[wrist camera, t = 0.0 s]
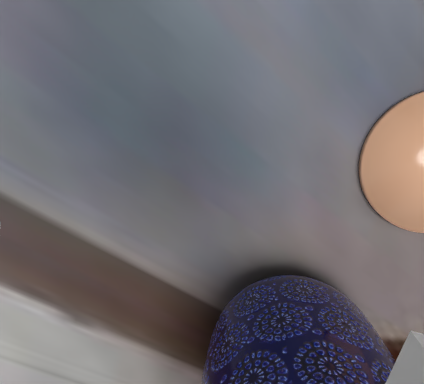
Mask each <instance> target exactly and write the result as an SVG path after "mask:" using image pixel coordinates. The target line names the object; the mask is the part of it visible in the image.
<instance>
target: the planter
mask: <svg viewBox="0 0 424 384" xmlns="http://www.w3.org/2000/svg"><path fill="white" fill-rule="evenodd" d="M394 364H395V360H394V358H393V357H392V355H391V353H390V352H389V350H388V348H387V347H386V345H385V344H384V342H383V341H382V339H381V338H380V336H379V335H378V333H377V332H376V331H375V329H374V328H373V326H372V325H371V324H370V322H369V321H368V320H367V318H366V317H365V315H364V314H363V313H362V312H361V310H360V309H359V308H358V307H357V306H356V305H355V304H354V303H353V302H352V301H351V300H350V299H349V298H348V297H346V296H345V295H344V294H343V293H341V292H340V291H339V290H337V289H335V288H334V287H332V286H330V285H328V284H326V283H323V282H321V281H319V280H316V279H313V278H309V277H305V276H298V275H279V276H273V277H268V278H265V279H262V280H259V281H257V282H255V283H253V284H251V285H249V286H247V287H246V288H244V289H243V290H242V291H240V292H239V293H238V294H237V295H236V296H235V297H234V298H233V299H232V300H231V301H230V302H229V303H228V304H227V305H226V307H225V308H224V309H223V311H222V313H221V315H220V317H219V319H218V321H217V323H216V325H215V328H214V330H213V334H212V337H211V341H210V345H209V348H208V353H207V357H206V361H205V366H204V371H203V377H202V382H201V384H385V383H386V381H387V379H388V377H389V375H390V373H391V371H392V369H393V366H394Z"/></svg>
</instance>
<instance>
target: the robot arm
mask: <svg viewBox="0 0 424 384" xmlns="http://www.w3.org/2000/svg"><path fill="white" fill-rule="evenodd" d="M0 223H1V221H0ZM385 384H424V334H422V333H419V332H415V331H410V333H409V335H408V337H407V339H406V341H405V343H404V345H403V348H402V350H401V352H400V354H399V356H398V358H397V360H396V362H395V364H394V366H393V369H392V371H391V373H390V375H389V377H388V379H387V381H386V383H385Z"/></svg>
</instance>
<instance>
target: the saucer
mask: <svg viewBox="0 0 424 384" xmlns="http://www.w3.org/2000/svg"><path fill="white" fill-rule="evenodd" d="M359 178H360V183H361V187H362V190H363V193H364V195H365V197H366V199H367V200H368V202H369V204H370V205H371V206H372V207H373V208H374V210H375V211H376V212H377V213H379V214H380V215H381V216H382V217H383V218H384V219H386V220H387V221H389V222H390V223H392V224H393V225H396V226H398V227H400V228H402V229H405V230H408V231H413V232H418V233H424V91H423V92H420V93H417V94H414V95H412V96H409V97H407V98H405V99H403V100H402V101H400V102H398V103H397V104H395V105H394V106H393V107H391V108H390V109H389V110H388V111H386V112H385V113H384V114H383V115H382V116H381V117H380V118H379V119H378V121H377V122H376V123H375V125H374V126H373V127H372V129H371V130H370V132H369V134H368V135H367V137H366V140H365V142H364V144H363V147H362V150H361V154H360V160H359Z"/></svg>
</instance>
